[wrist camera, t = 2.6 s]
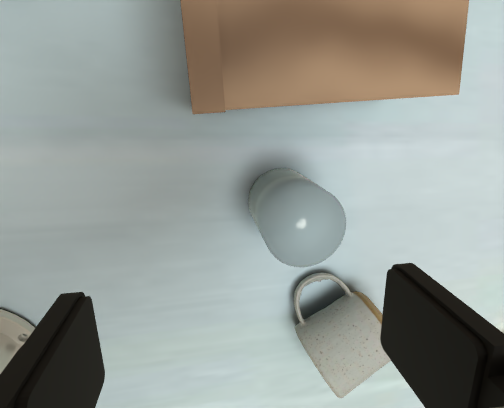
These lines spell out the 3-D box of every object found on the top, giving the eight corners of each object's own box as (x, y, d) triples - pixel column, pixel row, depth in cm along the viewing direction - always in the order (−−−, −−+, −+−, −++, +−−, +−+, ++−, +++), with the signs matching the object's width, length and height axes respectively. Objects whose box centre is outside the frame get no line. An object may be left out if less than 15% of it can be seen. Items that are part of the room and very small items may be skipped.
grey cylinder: (312, 227, 35) (345, 261, 27) (250, 234, 34) (266, 272, 26) (311, 165, 33) (346, 183, 25) (246, 171, 32) (261, 191, 24)
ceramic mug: (378, 320, 39) (420, 368, 32) (319, 360, 39) (347, 416, 32) (334, 252, 36) (369, 287, 29) (270, 295, 36) (289, 342, 29)
